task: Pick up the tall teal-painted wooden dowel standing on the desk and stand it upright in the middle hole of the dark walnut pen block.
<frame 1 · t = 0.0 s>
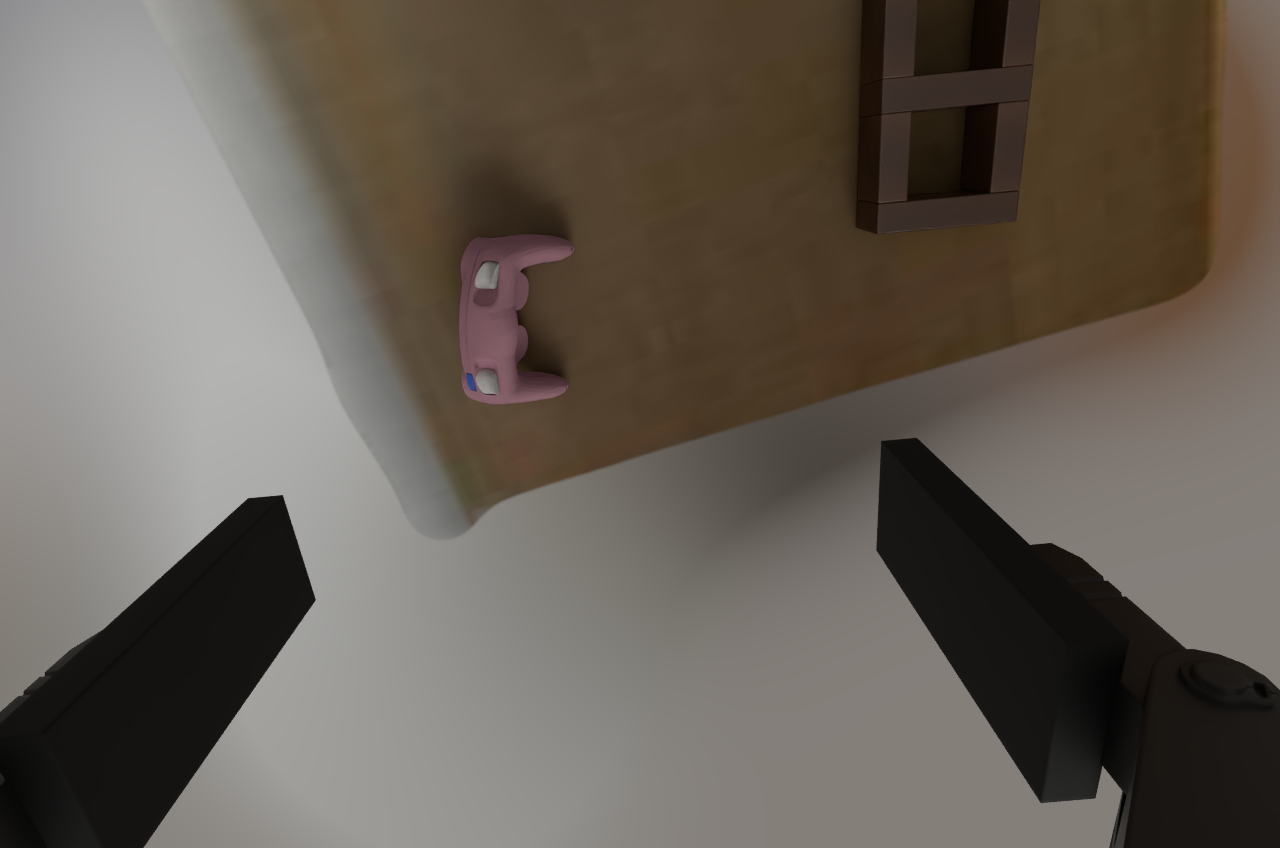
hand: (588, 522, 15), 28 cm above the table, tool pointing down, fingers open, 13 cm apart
video game controller: (524, 312, 42), on the table
pen block: (931, 33, 36), on the table
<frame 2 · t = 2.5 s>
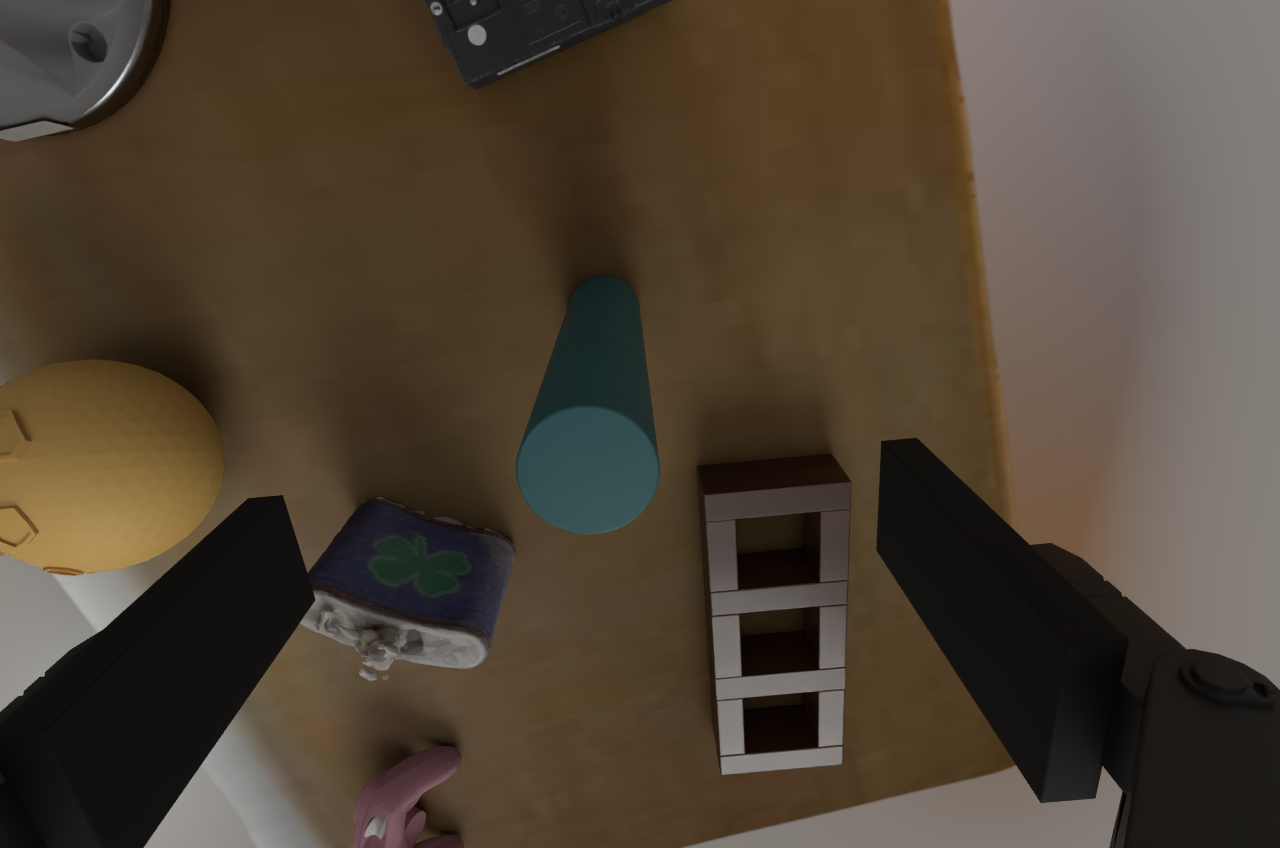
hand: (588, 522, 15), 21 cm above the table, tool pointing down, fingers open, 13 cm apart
stress ball: (167, 425, 36), on the table
video game controller: (423, 790, 47), on the table
flask: (437, 532, 39), on the table
dowel: (604, 310, 35), on the table
pen block: (767, 604, 42), on the table
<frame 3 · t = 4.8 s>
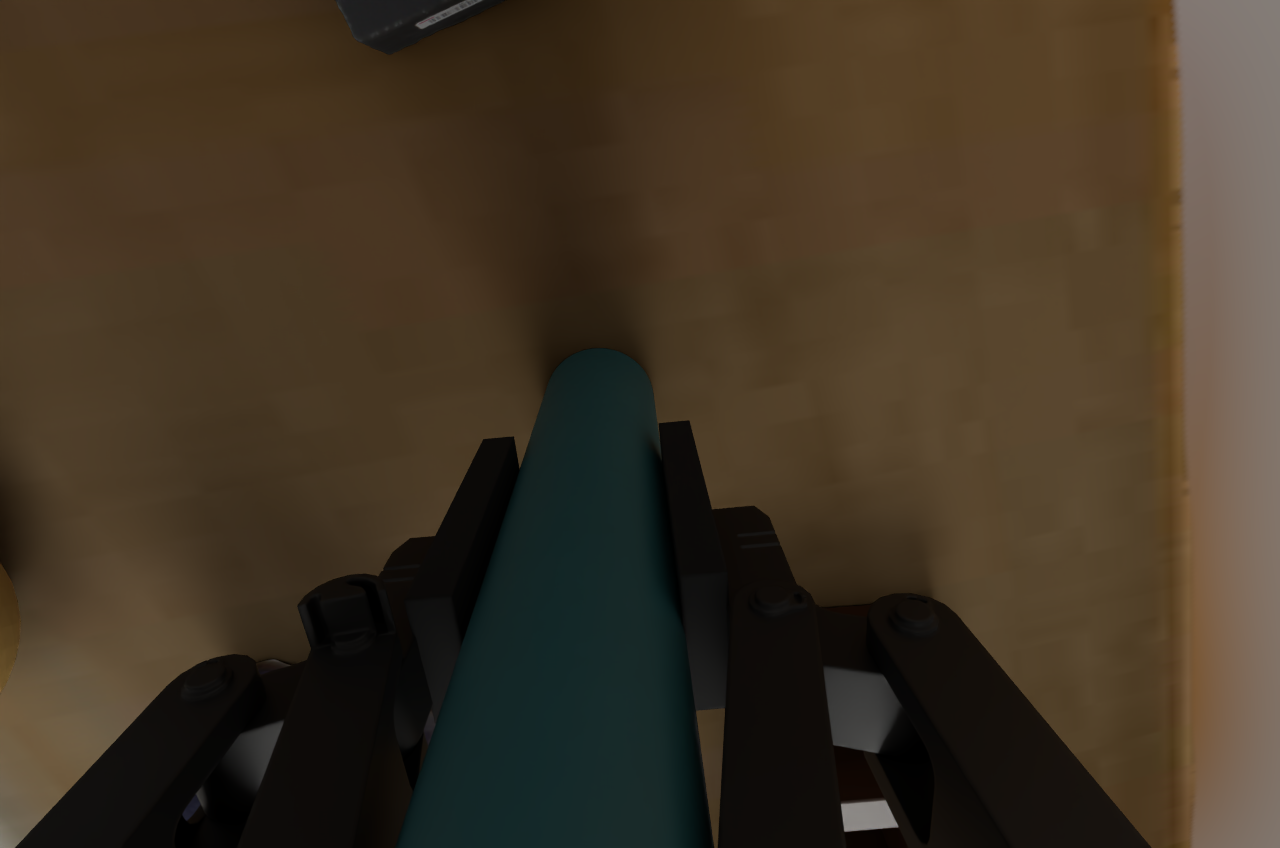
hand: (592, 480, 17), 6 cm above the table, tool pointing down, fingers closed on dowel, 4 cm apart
flask: (361, 702, 27), on the table
dowel: (599, 399, 23), on the table, touching gripper
pen block: (830, 793, 30), on the table
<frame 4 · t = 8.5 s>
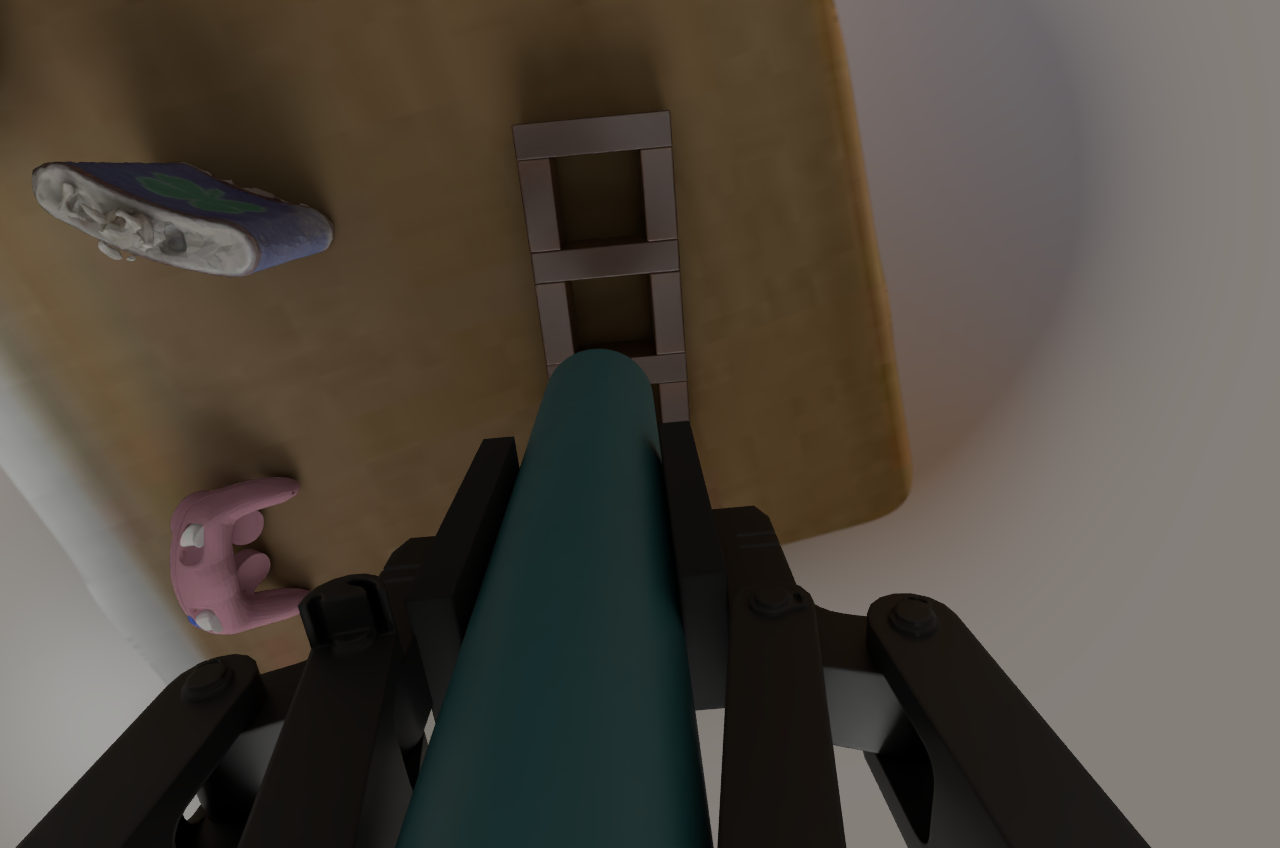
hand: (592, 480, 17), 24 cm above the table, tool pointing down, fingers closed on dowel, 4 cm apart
video game controller: (267, 535, 44), on the table
flask: (251, 209, 37), on the table
dowel: (599, 400, 23), point 18 cm above the table, touching gripper
pen block: (612, 305, 39), on the table
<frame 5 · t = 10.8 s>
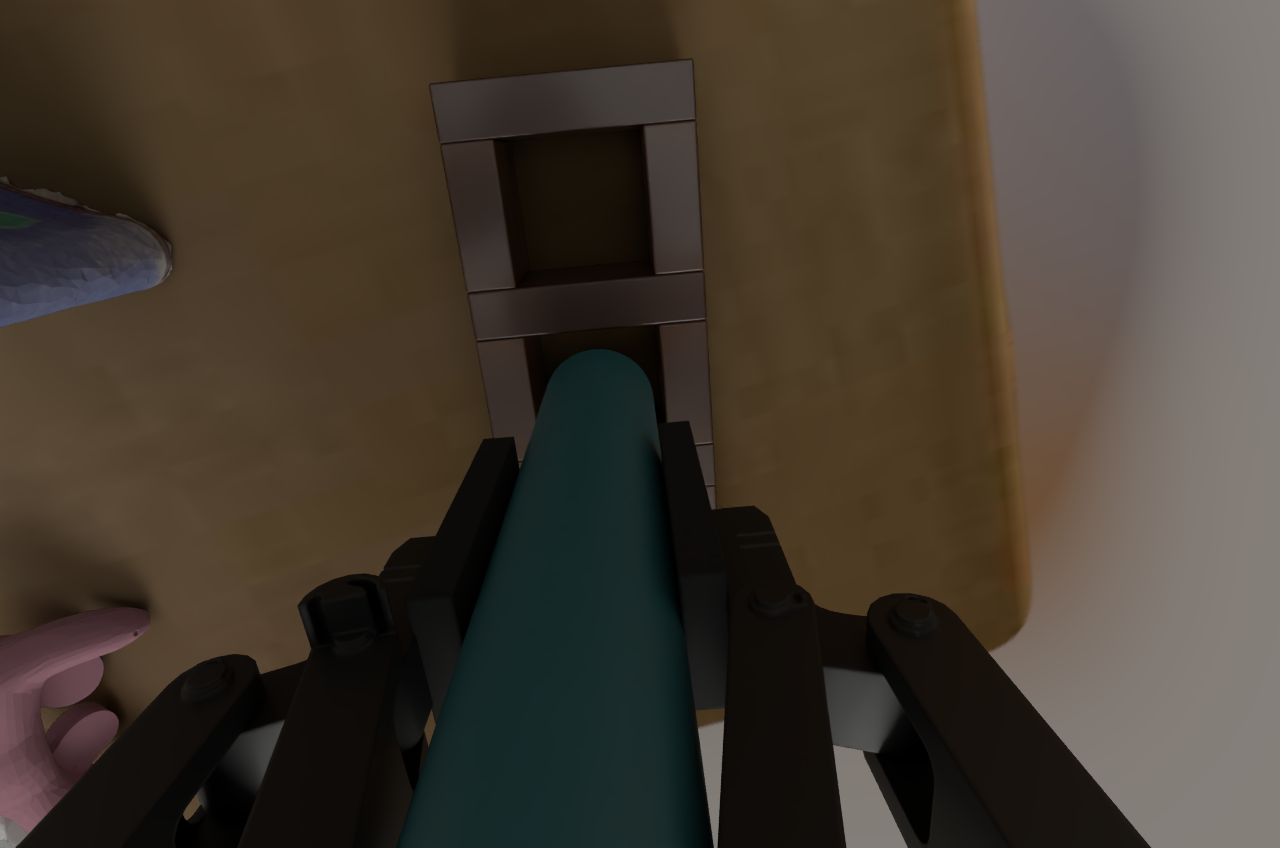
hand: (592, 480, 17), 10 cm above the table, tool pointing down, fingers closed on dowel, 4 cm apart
video game controller: (114, 681, 31), on the table
flask: (43, 223, 24), on the table
dowel: (599, 400, 23), point 4 cm above the table, touching gripper
pen block: (601, 365, 26), on the table
when the fingers open (6 cm above the table, at t = 12.4 s): dowel stays where it is, resting in pen block.
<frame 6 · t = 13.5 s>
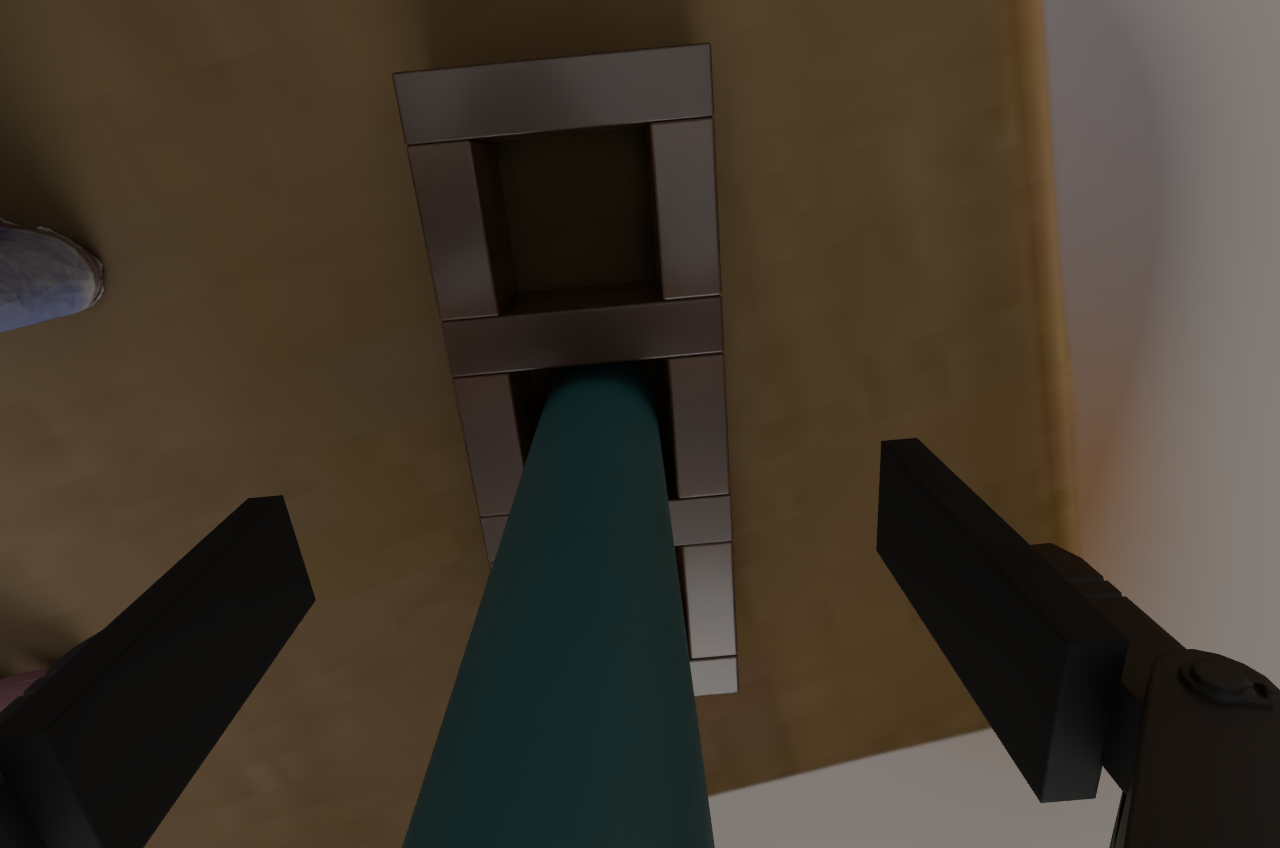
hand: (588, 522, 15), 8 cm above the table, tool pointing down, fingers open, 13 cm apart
video game controller: (55, 746, 28), on the table
dowel: (601, 402, 23), resting in pen block
pen block: (600, 399, 23), on the table
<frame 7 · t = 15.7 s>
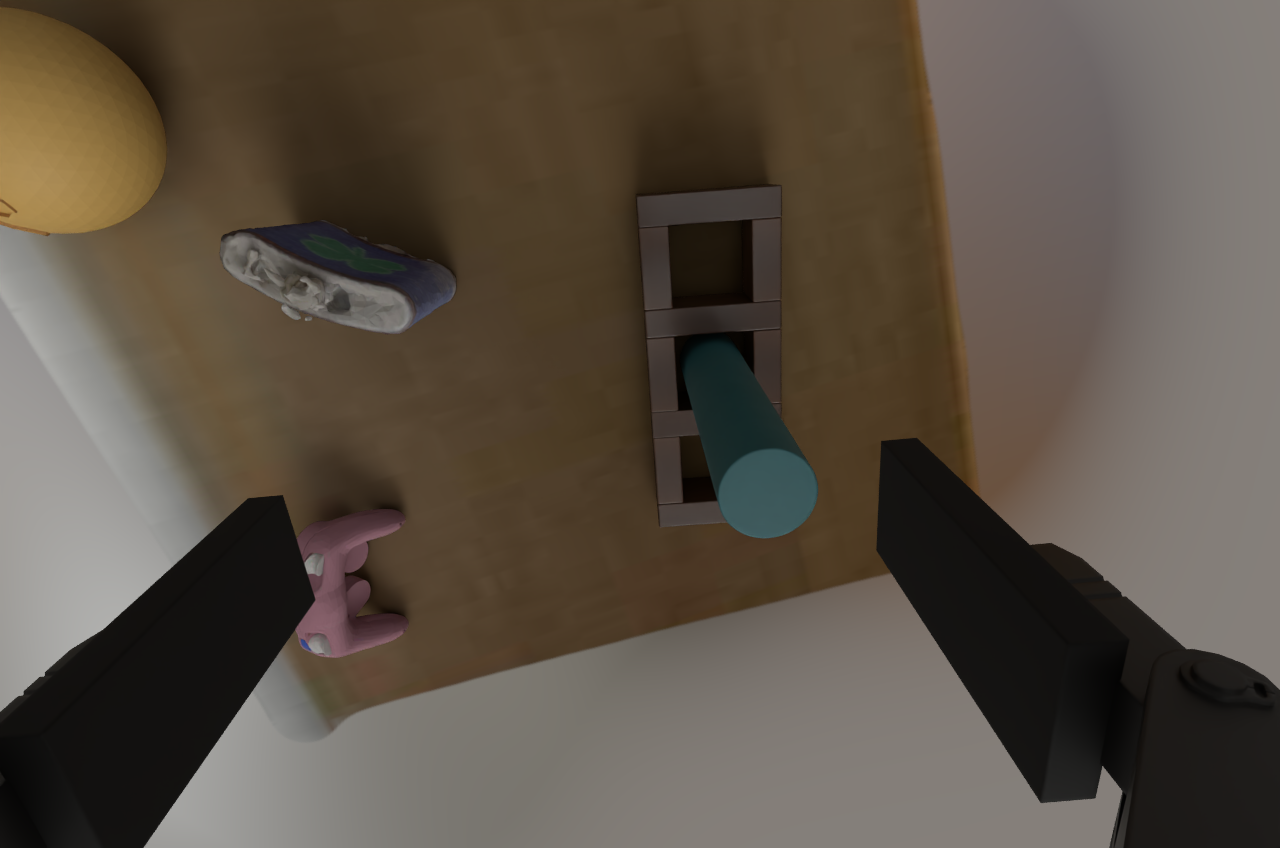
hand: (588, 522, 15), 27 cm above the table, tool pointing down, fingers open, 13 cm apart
stress ball: (116, 133, 37), on the table
video game controller: (368, 563, 47), on the table
flask: (381, 263, 40), on the table
dowel: (708, 358, 42), resting in pen block
pen block: (708, 356, 42), on the table
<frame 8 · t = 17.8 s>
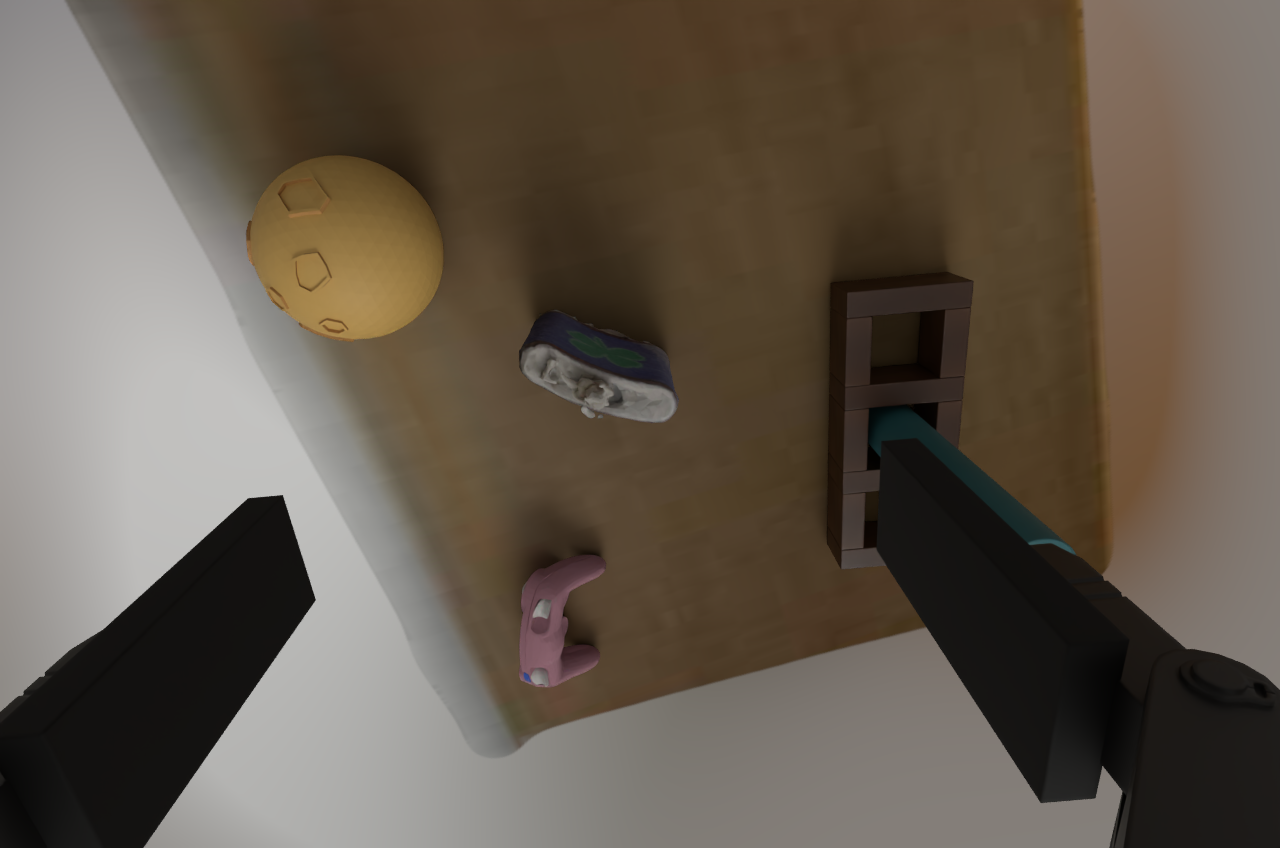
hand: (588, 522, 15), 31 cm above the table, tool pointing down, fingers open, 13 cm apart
stress ball: (381, 240, 42), on the table
video game controller: (565, 601, 53), on the table
flask: (601, 345, 45), on the table
dowel: (882, 419, 48), resting in pen block
pen block: (882, 418, 47), on the table
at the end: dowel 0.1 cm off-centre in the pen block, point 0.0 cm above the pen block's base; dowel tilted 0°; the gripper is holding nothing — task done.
